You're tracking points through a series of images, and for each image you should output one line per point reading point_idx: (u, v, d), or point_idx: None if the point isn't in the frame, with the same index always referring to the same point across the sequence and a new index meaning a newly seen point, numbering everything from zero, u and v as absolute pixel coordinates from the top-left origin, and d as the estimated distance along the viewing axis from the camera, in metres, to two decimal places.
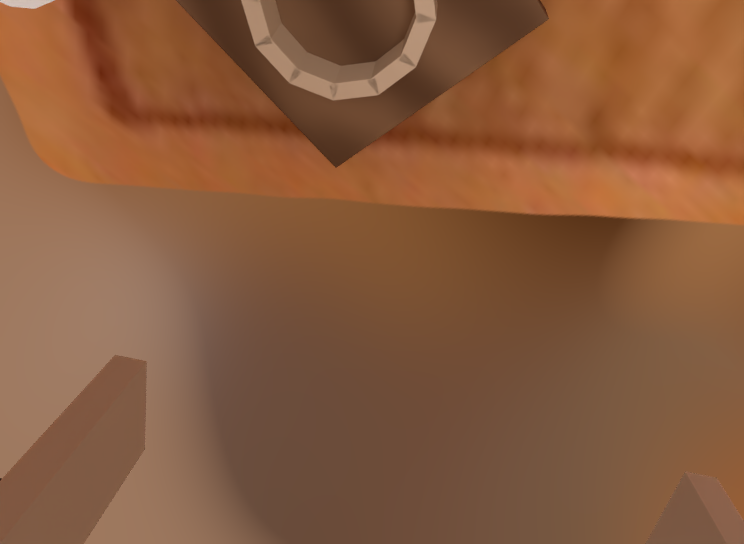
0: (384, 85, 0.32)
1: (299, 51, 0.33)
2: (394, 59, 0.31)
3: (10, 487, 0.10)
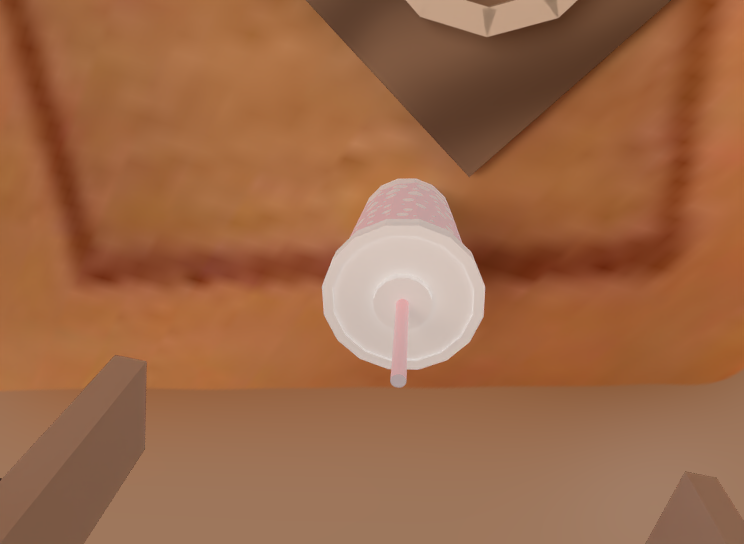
0: None
1: None
2: None
3: (10, 487, 0.10)
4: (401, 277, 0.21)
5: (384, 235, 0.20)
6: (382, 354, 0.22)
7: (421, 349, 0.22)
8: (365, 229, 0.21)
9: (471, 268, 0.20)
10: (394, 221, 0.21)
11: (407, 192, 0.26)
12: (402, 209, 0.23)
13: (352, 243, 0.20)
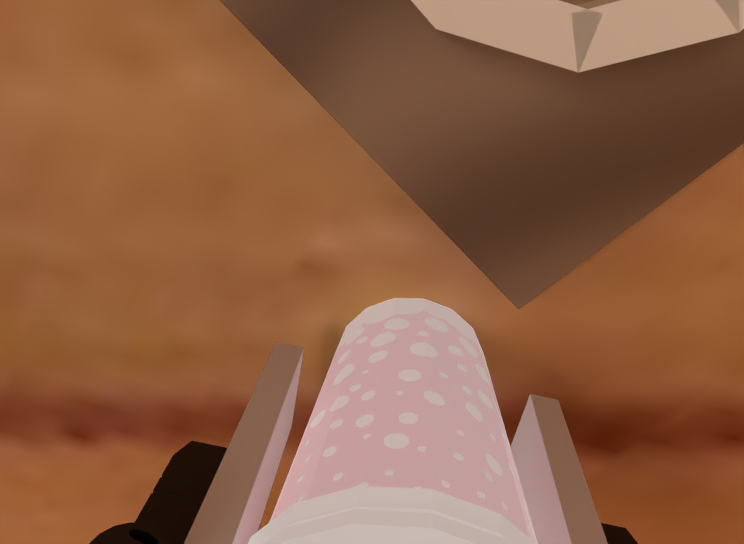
0: None
1: None
2: None
3: (239, 450, 0.11)
4: None
5: (350, 542, 0.09)
6: None
7: None
8: (310, 507, 0.09)
9: None
10: (375, 496, 0.09)
11: (408, 346, 0.14)
12: (397, 417, 0.11)
13: None
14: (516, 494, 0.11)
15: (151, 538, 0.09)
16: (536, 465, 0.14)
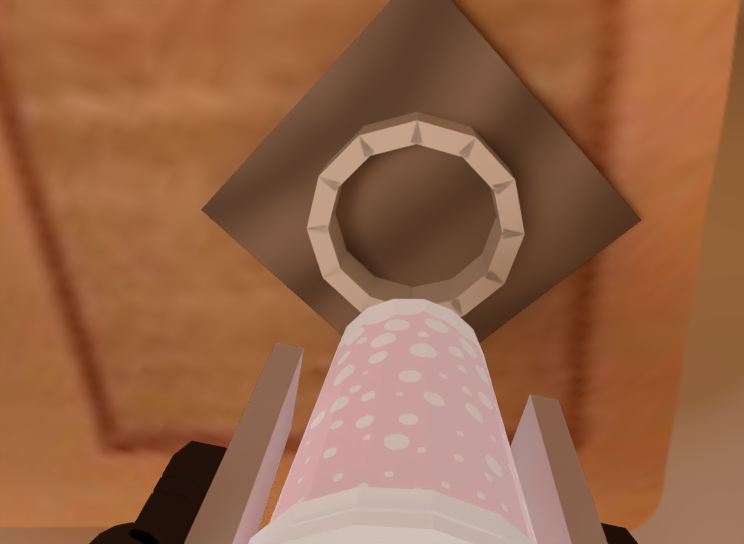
0: (501, 173, 0.26)
1: (477, 263, 0.29)
2: (469, 163, 0.26)
3: (239, 450, 0.11)
4: None
5: (350, 542, 0.09)
6: None
7: None
8: (311, 507, 0.09)
9: None
10: (375, 497, 0.09)
11: (408, 347, 0.14)
12: (397, 418, 0.11)
13: None
14: (516, 495, 0.11)
15: (151, 538, 0.09)
16: (536, 465, 0.14)
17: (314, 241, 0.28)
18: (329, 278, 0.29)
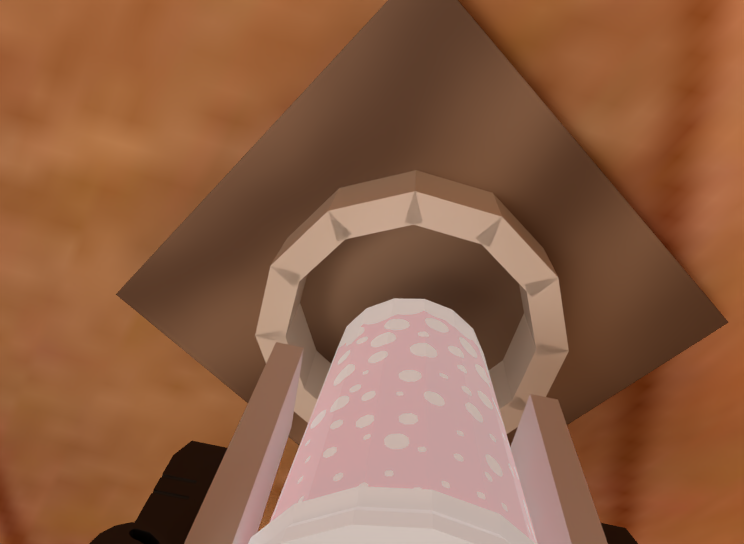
0: (539, 268, 0.17)
1: (496, 376, 0.21)
2: (490, 251, 0.18)
3: (239, 450, 0.11)
4: None
5: (350, 542, 0.09)
6: None
7: None
8: (311, 507, 0.09)
9: None
10: (375, 496, 0.09)
11: (408, 346, 0.14)
12: (397, 418, 0.11)
13: None
14: (516, 494, 0.11)
15: (151, 538, 0.09)
16: (536, 465, 0.14)
17: (266, 352, 0.19)
18: None
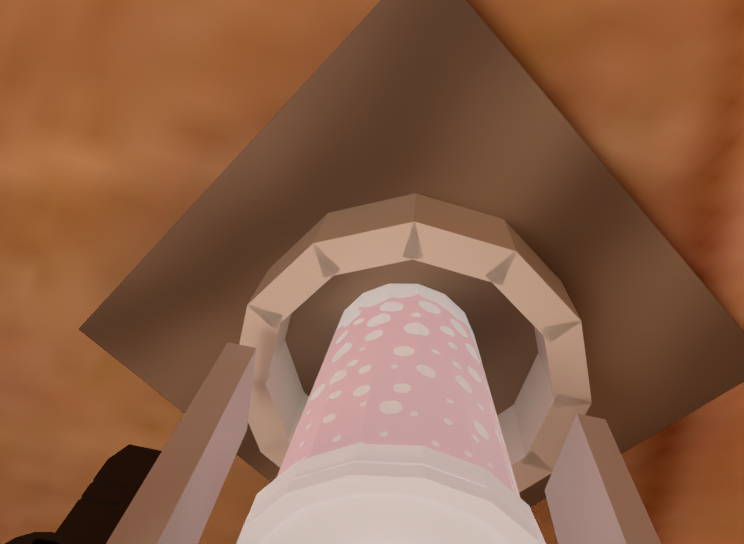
0: (558, 310, 0.15)
1: (507, 423, 0.19)
2: (502, 290, 0.15)
3: (173, 454, 0.11)
4: None
5: (347, 492, 0.10)
6: None
7: None
8: (312, 463, 0.10)
9: None
10: (371, 452, 0.10)
11: (402, 326, 0.15)
12: (391, 387, 0.12)
13: (282, 503, 0.10)
14: (501, 456, 0.12)
15: None
16: (588, 489, 0.13)
17: None
18: (271, 453, 0.18)
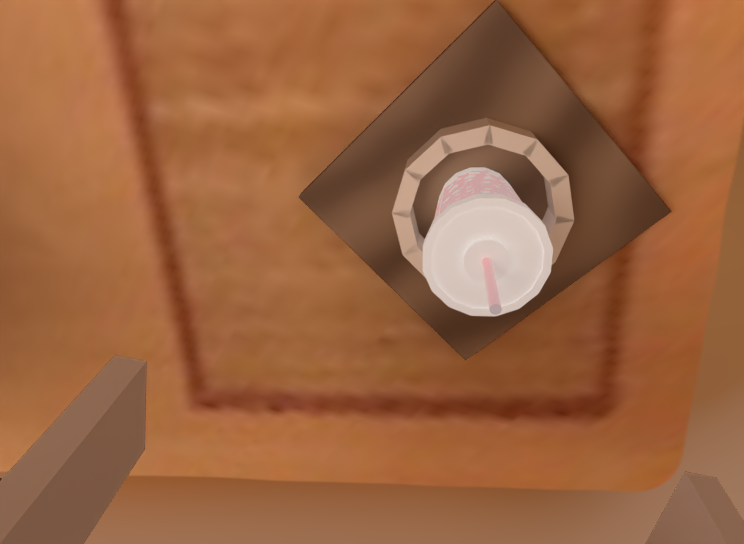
0: (557, 169, 0.31)
1: None
2: (530, 160, 0.31)
3: (10, 487, 0.10)
4: (487, 240, 0.26)
5: (474, 206, 0.26)
6: (467, 303, 0.28)
7: None
8: (458, 202, 0.27)
9: (542, 233, 0.26)
10: (482, 195, 0.26)
11: (482, 177, 0.31)
12: (483, 188, 0.29)
13: (449, 212, 0.26)
14: None
15: None
16: None
17: (397, 224, 0.34)
18: (407, 255, 0.34)
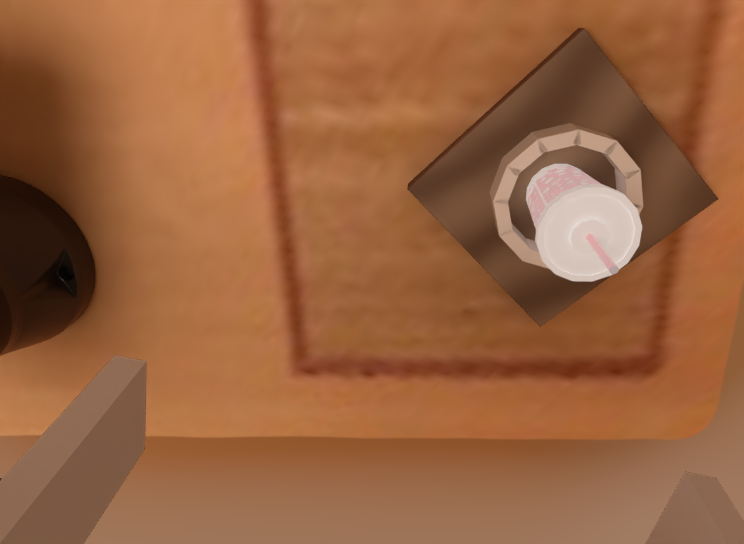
0: (632, 165, 0.39)
1: None
2: (609, 158, 0.39)
3: (10, 487, 0.10)
4: (591, 220, 0.34)
5: (583, 193, 0.33)
6: (570, 271, 0.35)
7: (595, 268, 0.35)
8: (568, 190, 0.34)
9: (635, 214, 0.33)
10: (587, 185, 0.34)
11: (571, 171, 0.39)
12: (580, 180, 0.36)
13: (562, 198, 0.33)
14: None
15: None
16: None
17: (497, 210, 0.41)
18: (503, 236, 0.41)
